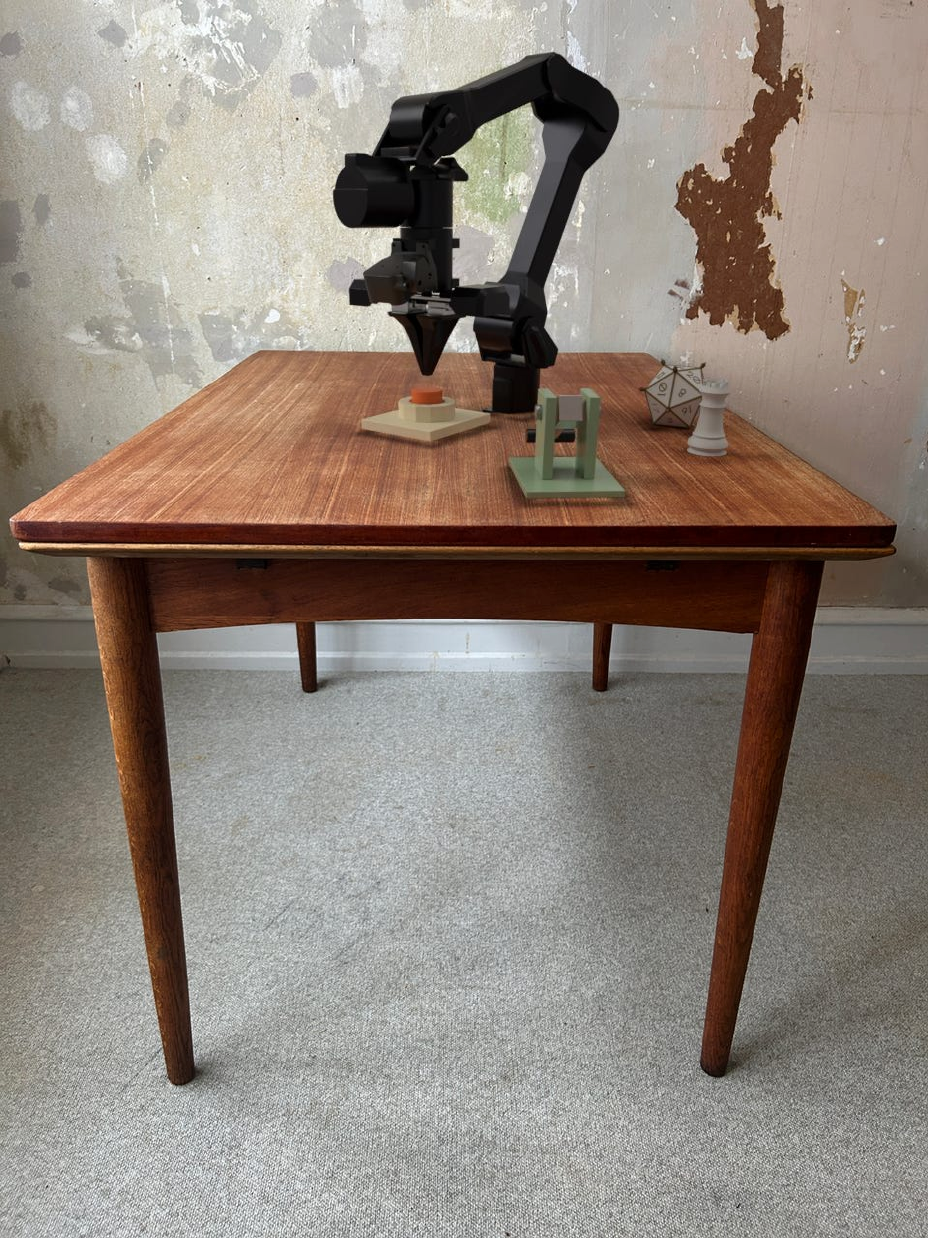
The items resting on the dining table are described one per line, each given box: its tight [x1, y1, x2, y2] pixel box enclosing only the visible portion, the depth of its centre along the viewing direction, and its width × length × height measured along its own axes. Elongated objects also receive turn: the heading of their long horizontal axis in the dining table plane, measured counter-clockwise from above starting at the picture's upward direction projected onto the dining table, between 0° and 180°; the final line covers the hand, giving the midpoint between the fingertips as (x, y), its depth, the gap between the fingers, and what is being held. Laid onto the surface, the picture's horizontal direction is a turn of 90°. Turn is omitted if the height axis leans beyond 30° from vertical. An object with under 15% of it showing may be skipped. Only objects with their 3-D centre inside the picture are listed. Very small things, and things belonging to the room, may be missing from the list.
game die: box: [637, 358, 707, 430], centre depth 106 cm, size 9×8×10 cm
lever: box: [524, 394, 583, 444], centre depth 87 cm, size 11×5×2 cm, turn 5°
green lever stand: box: [508, 387, 626, 499], centre depth 84 cm, size 12×9×9 cm
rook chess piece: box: [686, 378, 732, 457], centre depth 94 cm, size 4×4×8 cm
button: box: [410, 386, 443, 405], centre depth 104 cm, size 4×4×2 cm
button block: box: [360, 395, 491, 442], centre depth 105 cm, size 12×10×4 cm
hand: (427, 375), depth 103 cm, fingers closed
